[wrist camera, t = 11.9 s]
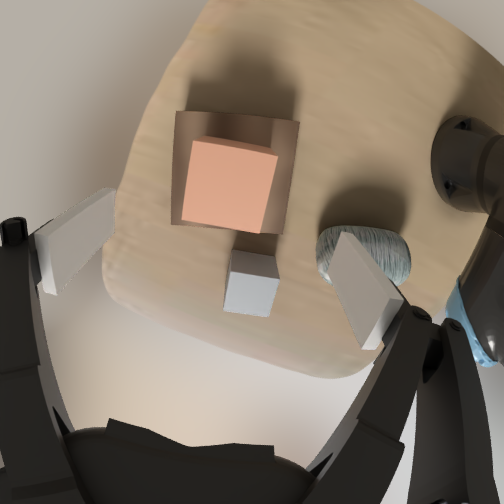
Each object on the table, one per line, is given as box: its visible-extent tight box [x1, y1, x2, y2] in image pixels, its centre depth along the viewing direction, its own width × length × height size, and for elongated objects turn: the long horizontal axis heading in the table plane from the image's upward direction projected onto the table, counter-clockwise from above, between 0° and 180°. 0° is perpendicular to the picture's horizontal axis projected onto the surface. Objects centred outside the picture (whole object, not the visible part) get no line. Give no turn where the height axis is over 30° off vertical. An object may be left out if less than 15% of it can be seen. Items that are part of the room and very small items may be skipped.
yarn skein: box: [316, 225, 411, 286], centre depth 35 cm, size 14×10×10 cm
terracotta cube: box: [181, 136, 278, 234], centre depth 26 cm, size 7×7×7 cm
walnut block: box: [171, 111, 300, 234], centre depth 32 cm, size 13×13×5 cm
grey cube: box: [223, 249, 280, 317], centre depth 37 cm, size 6×6×6 cm
